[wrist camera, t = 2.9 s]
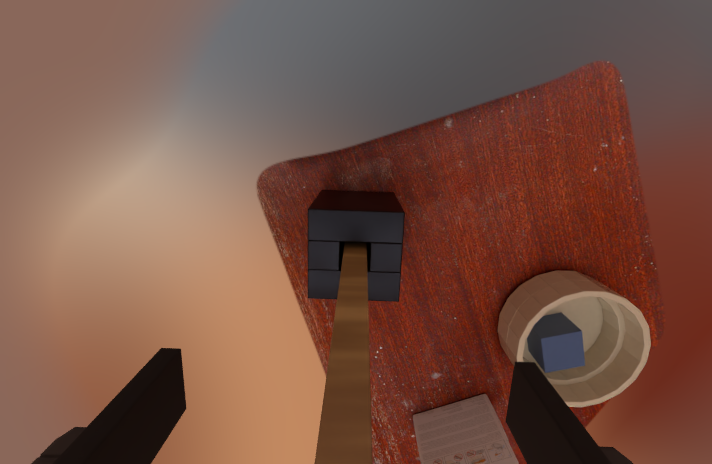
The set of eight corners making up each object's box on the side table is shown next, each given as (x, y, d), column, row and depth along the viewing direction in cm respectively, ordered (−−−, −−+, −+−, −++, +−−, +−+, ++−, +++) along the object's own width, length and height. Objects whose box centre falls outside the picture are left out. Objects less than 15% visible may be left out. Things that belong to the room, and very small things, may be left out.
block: (524, 319, 41) (540, 338, 37) (561, 312, 41) (582, 330, 37) (528, 351, 42) (545, 373, 38) (564, 344, 42) (585, 365, 38)
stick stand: (321, 189, 39) (307, 208, 29) (394, 192, 38) (404, 212, 29) (320, 258, 40) (307, 298, 31) (390, 261, 40) (398, 301, 31)
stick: (348, 215, 39) (308, 505, 11) (365, 215, 39) (373, 507, 11) (348, 231, 40) (309, 549, 11) (365, 232, 40) (370, 551, 11)
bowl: (503, 266, 40) (527, 288, 34) (620, 270, 40) (664, 293, 34) (489, 368, 43) (509, 404, 38) (598, 372, 43) (634, 409, 38)
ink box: (492, 408, 45) (535, 498, 34) (418, 430, 46) (435, 525, 35) (486, 388, 44) (527, 474, 33) (410, 411, 45) (426, 502, 34)
